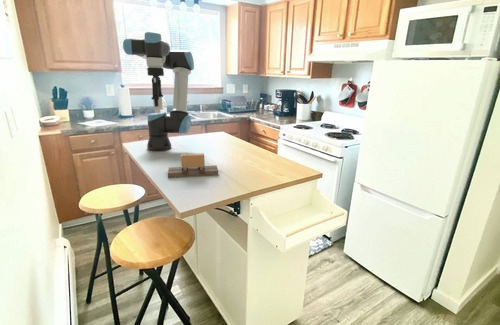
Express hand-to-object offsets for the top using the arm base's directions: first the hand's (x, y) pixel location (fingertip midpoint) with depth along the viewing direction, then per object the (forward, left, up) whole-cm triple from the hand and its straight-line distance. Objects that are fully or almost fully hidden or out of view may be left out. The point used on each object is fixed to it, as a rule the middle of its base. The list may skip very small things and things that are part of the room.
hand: (158, 111), depth 137 cm
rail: (+17, +16, -29) cm, 37 cm away
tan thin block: (+17, +16, -29) cm, 37 cm away
